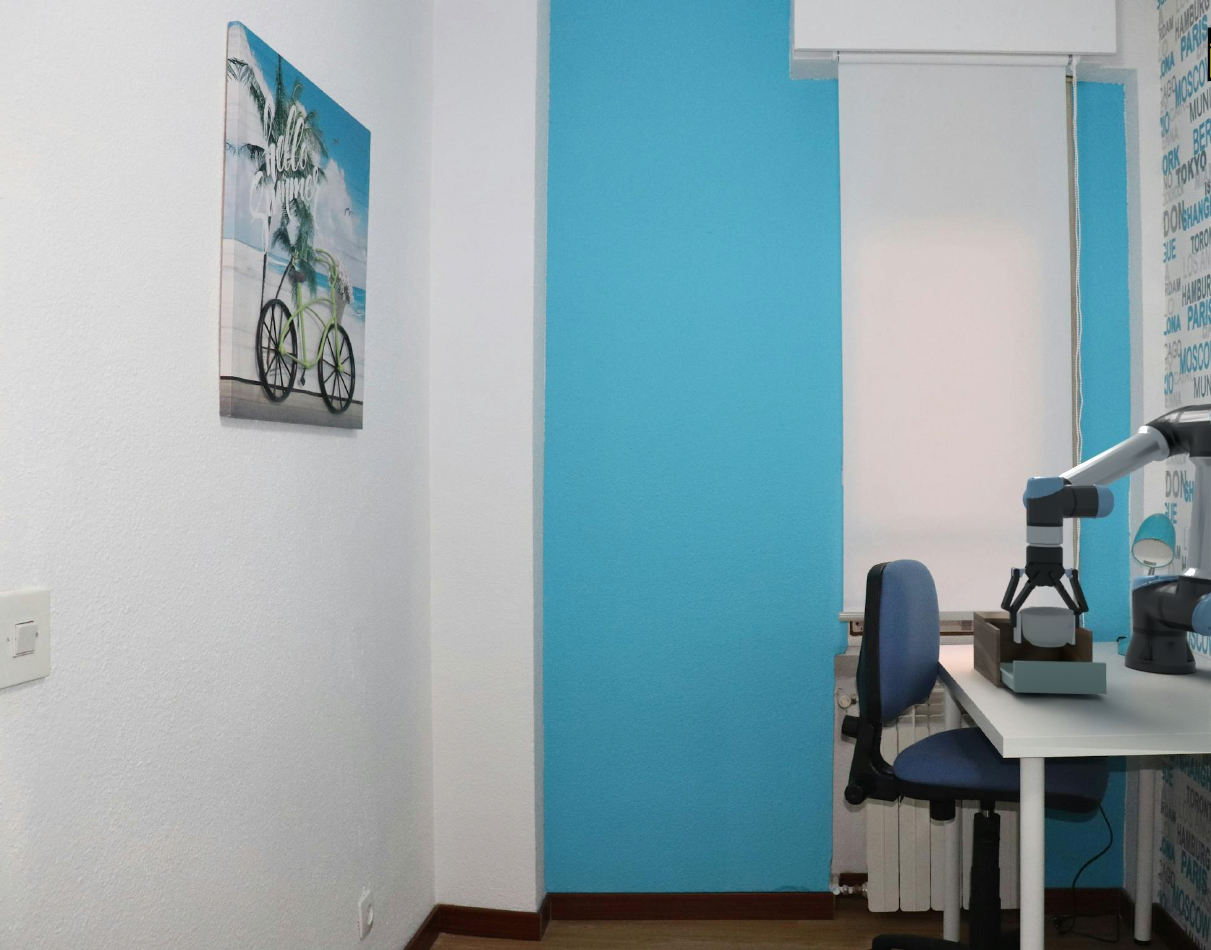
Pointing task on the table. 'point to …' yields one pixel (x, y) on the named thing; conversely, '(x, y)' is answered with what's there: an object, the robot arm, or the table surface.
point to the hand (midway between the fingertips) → (1044, 642)
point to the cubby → (1019, 646)
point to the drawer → (1055, 677)
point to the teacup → (1047, 625)
